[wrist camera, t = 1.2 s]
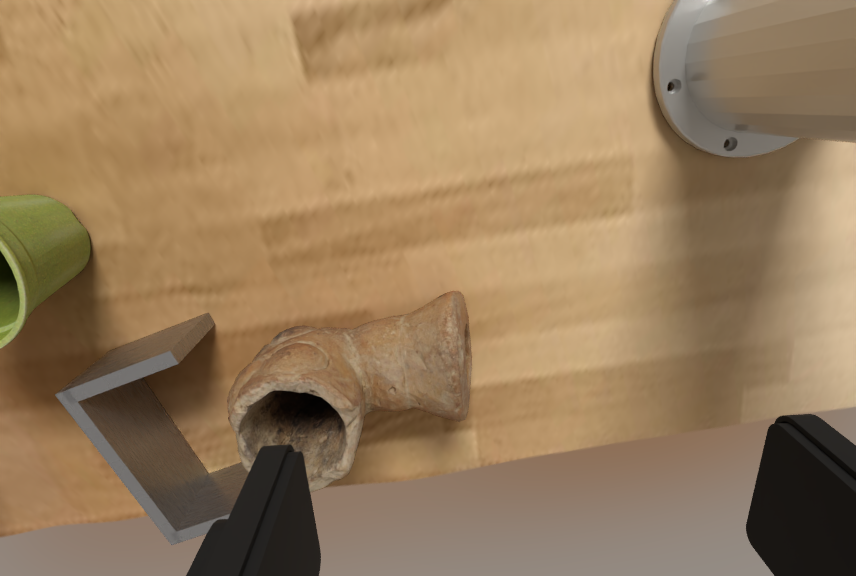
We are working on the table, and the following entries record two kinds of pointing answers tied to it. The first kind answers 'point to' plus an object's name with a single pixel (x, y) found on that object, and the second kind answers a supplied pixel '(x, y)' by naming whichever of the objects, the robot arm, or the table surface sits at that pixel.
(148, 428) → the gray channel bracket
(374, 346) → the pipe
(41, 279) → the plant pot
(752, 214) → the table surface
